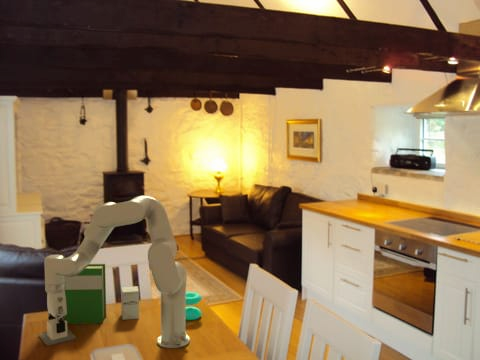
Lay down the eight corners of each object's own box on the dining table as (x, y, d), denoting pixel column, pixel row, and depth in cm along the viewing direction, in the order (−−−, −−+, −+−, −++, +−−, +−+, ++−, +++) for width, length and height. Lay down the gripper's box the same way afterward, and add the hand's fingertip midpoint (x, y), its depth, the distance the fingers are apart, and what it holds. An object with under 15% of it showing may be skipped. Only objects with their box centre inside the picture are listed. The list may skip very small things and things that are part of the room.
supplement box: (122, 320, 218) (121, 292, 216) (121, 314, 225) (121, 286, 223) (139, 318, 219) (139, 290, 218) (138, 312, 227) (137, 285, 225)
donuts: (204, 297, 219) (182, 300, 215) (204, 319, 220) (182, 322, 216) (197, 290, 228) (175, 292, 224) (197, 311, 229) (176, 314, 225)
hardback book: (106, 316, 222) (105, 263, 219) (102, 323, 214) (101, 268, 212) (65, 317, 220) (63, 264, 218) (60, 324, 213) (58, 269, 210)
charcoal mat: (75, 338, 199) (75, 336, 198) (47, 346, 192) (47, 344, 192) (66, 329, 207) (66, 327, 207) (38, 336, 200) (38, 334, 200)
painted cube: (67, 336, 199) (67, 321, 198) (52, 340, 195) (51, 325, 195) (62, 331, 204) (61, 317, 203) (47, 335, 200) (46, 320, 199)
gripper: (72, 290, 193) (74, 333, 195) (57, 279, 206) (59, 319, 208) (52, 294, 188) (54, 338, 190) (39, 282, 202) (40, 323, 204)
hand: (56, 328), depth 199 cm, fingers open, 9 cm apart
